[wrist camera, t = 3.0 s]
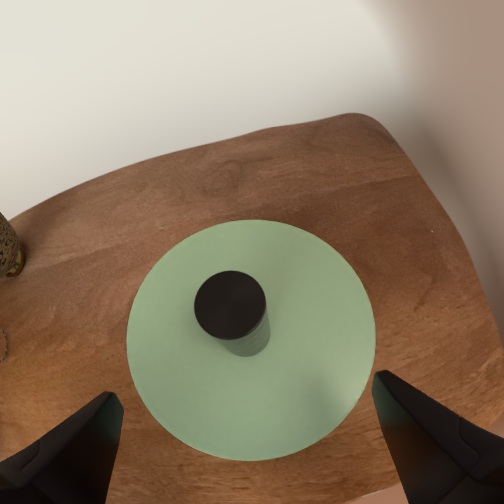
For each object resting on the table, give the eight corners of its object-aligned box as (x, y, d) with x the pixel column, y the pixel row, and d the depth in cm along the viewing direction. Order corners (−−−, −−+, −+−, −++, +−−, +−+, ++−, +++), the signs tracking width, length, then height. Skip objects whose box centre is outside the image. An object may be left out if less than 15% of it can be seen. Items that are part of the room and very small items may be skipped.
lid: (389, 426, 12) (449, 440, 6) (147, 458, 12) (82, 482, 6) (336, 214, 18) (353, 142, 12) (135, 249, 18) (87, 192, 12)
